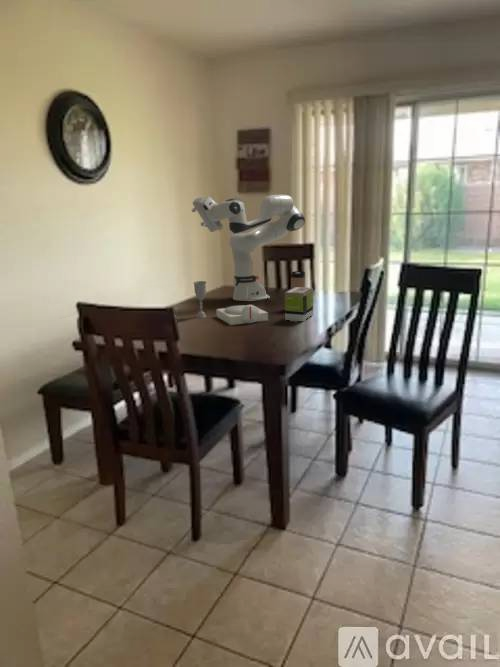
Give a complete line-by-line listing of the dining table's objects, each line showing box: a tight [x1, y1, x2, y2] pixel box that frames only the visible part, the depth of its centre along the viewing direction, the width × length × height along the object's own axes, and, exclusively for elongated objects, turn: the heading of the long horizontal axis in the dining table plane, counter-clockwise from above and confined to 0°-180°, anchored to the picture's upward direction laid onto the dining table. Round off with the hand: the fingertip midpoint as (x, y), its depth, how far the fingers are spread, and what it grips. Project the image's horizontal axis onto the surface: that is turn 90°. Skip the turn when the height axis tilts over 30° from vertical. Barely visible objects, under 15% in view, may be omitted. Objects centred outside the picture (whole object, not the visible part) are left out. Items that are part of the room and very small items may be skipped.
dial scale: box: [216, 304, 269, 326], centre depth 252 cm, size 20×22×9 cm
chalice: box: [193, 280, 207, 319], centre depth 257 cm, size 7×7×18 cm
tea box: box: [284, 286, 314, 322], centre depth 250 cm, size 15×10×15 cm
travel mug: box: [290, 270, 306, 289], centre depth 271 cm, size 8×8×20 cm
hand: (197, 217), depth 281 cm, fingers open, 8 cm apart
